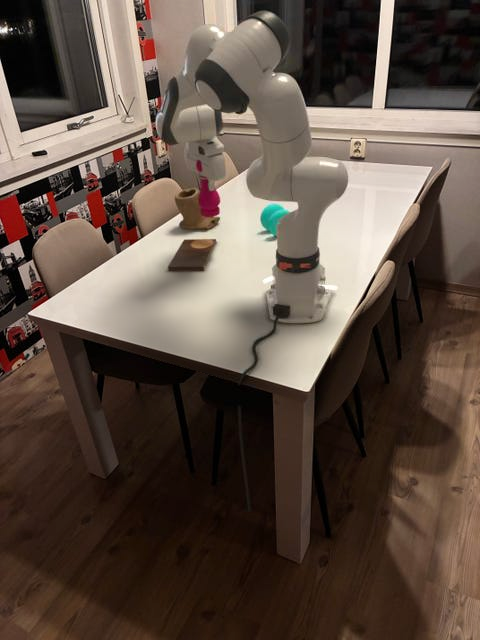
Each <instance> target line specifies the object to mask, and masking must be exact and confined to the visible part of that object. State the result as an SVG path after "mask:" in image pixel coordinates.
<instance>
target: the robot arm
mask: <svg viewBox="0 0 480 640" xmlns="http://www.w3.org/2000/svg"><path fill="white" fill-rule="evenodd" d="M189 37H190V38H189V40H188V44H187V46H186V50H185V55H184V62H183V63H184V64H183V66H182V67H181V68H180V70H179V71H178V72H177V73H176V74H175V75H174V76H173V77H172V78H170V79H169V81H168V82H167V85H166V88H165V91H164V94H163V98H162V102H161V105H160V108H159V110H158V111H157V113H156V116H155V117H156V118H155V128H156V133H157V135H158V137H159V139H160V141H162V142H163V143H164V144H166V145H168V146H169V147H172V146H175V145H179V144H183V143H184V144H185V147H184V161H185V166H186V169H188V170H189V171H191V172H194V173H195V176H196V178H197V180H198V184H199V187H201V179H200V178H199V174H201V175H203V176H205V177H207V178H208V181H209V184H208V185H207V187H208V190H209V191H213V190H215V188H216V185H215V184H216V182H219V181H223V180H225V179H226V175H227V168H226V160H225V156H224V154H223V153H225V145H224V144H223V142H221V141H220V140H219V139H218V136H219V135H220V134H221V132H222V131H223V129H224V123H223V113H224V114H235V115H242V114H246V112H247V110H248V109H250V111H251V112H252V114H253V115H254V118H255V122H256V126H257V130H258V134H259V136H260V141H261V145H262V150H263V151H262V154H261V155H260V156H259V157H258V158H256V159H254V160H253V161H252V162H251V164H250V165H249V167H248V169H247V171H246V175H245V176H246V177H245V182H246V187H247V189H248V192H249V193H250V195H251V196H253V198H257V199H260V200H263V201H268V202H285V203H286V202H288V203H297V208H296V209H295V210H293V211H289V212H290V213H288V214H286V215H284V216H283V217H282V218H281V219H280V220H279V222H278V224H277V227H276V229H277V236H276V247H277V248H276V250H275V264H274V265H273V267H271V272H272V276H270V277H267V278H265V279H263V283H264V284H266V283H268V282H270V281H272V284H270V288H268V289H266V291H265V297H266V303H267V309H268V314H269V318H270V320H272V321H273V328H272V330H271V331H270V332H269V333H268V334H266V335H264V336H261V337H259V338H257V339H256V340H254V342H253V344H252V353H253V356H254V362H253V363H252V364H251V365H250V366H249V367H248V368H247V369H245V370H244V371H243V372H242V374H241V375H240V377H239V379H238V382H237V384H238V386H241V385H242V382H243V381H244V378H245V376H246V375H247V374H248V373H249V372H250V371H252V370H253V369H254V368H255V367H256V366H257V364H258V360H259V356H258V352H257V350H256V349H257V348H256V346H257V344H258V343H259V342H261V341H263V340H265V339H267V338H269V337H270V336H272V335H274V333H275V332H276V329H277V323H284V324H311V323H316V322H319V321H322V320H323V318H324V316H325V313H326V311H327V307H328V305H329V303H330V300H331V297H332V295H333V294H332V290H337V289H338V287H337V286H336V285H326V279H327V278H326V272H325V271H326V267H325V266H324V265H323V264H321V262H320V260H321V259H320V258H321V253H320V248H319V232H320V231H319V230H320V225H321V224H320V223H321V220H322V219H323V215H324V214H325V213H326V211H327V210H328V208H329V207H330V206H331V205H333V204H334V203H335V202H336V201H339V200H340V199H341V198H342V196H344V194H345V192H346V190H347V188H348V184H349V173H348V170H347V168H346V166H345V164H344V163H343V162H342V161H341V160H339V159H335V158H331V157H325V156H308V155H309V153H310V151H311V149H312V144H313V138H312V132H311V126H310V120H309V116H308V115H309V114H308V110H307V106H306V102H305V98H304V96H303V93H302V90H301V88H300V86H299V84H298V83H297V80H296V79H295V78H294V77H293V76H291V75H290V74H288V73H285V72H274V70H275V69H276V68H277V66H278V65H280V64H281V63H282V61H284V59H285V57H286V56H287V54H288V52H289V50H290V47H291V38H290V34H289V31H288V29H287V26H286V25H285V22H283V20H282V19H281V18H280V17H279V15H277V14H275V13H273V12H272V11H268V10H259V11H256V12H254V13H252V14H250V15H248V16H247V17H245V18H243V19H241V20H238V21H237V26H236V27H234V28H233V29H232V30H231V31H226V30H225V29H224V28H223V27H221V26H219V25H218V24H213V23H206V24H202V25H200V26H199V27H197V28H196V29H195V30H194V31H193V32H192V34H191V35H190V36H189ZM197 160H200V161H201V162H202V163H201V165H202V172H199V171H198V170H197V168H196V163H197ZM237 422H238V423H237V424H238V436H239V437H238V438H239V445H240V446H239V447H240V455H241V456H240V457H241V463H242V471H243V478H244V486H245V495H246V503H247V511H248V512H251V511H252V510H251V499H250V490H249V482H248V476H247V475H248V474H247V467H246V458H245V449H244V441H243V439H244V438H243V428H242V427H243V426H242V405H237Z"/></svg>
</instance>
